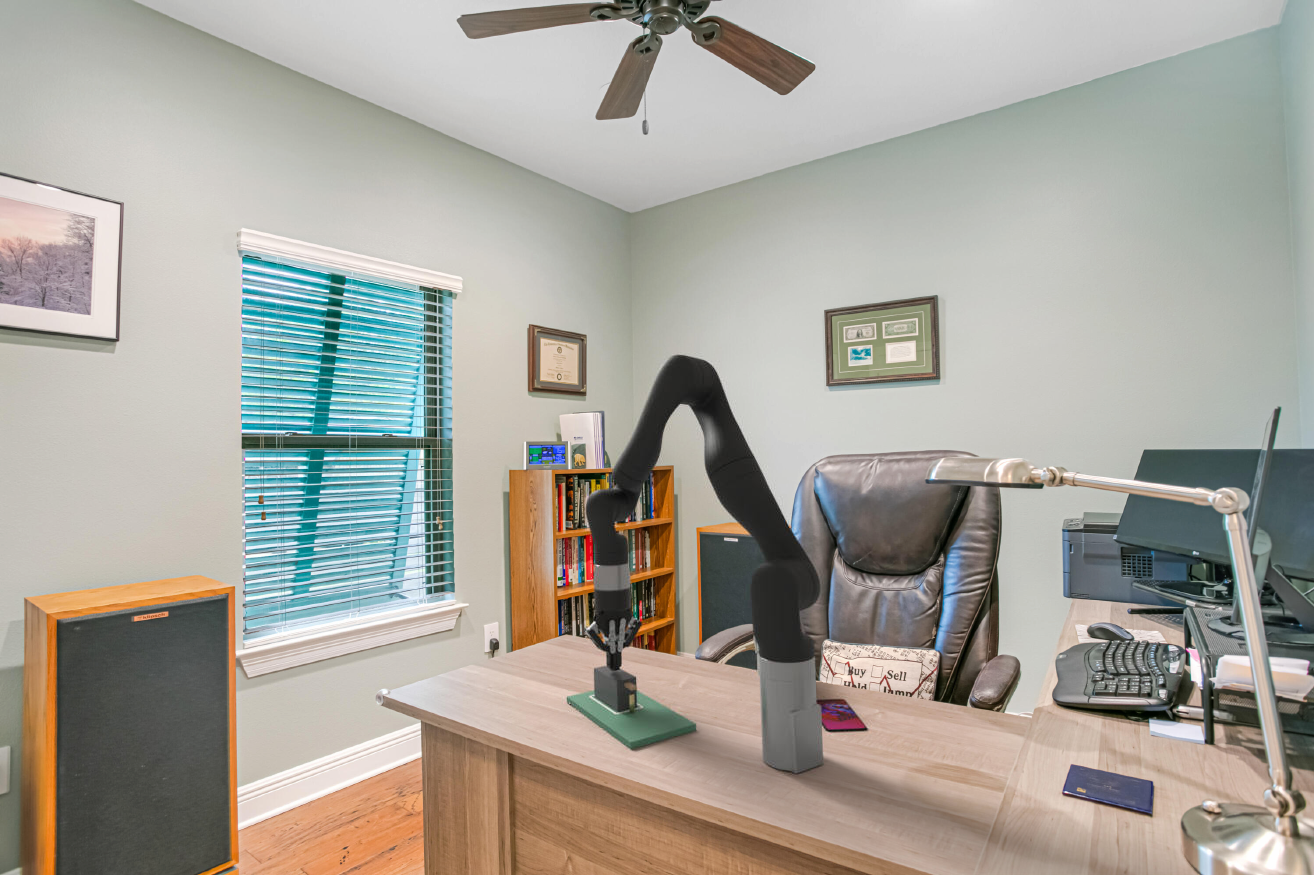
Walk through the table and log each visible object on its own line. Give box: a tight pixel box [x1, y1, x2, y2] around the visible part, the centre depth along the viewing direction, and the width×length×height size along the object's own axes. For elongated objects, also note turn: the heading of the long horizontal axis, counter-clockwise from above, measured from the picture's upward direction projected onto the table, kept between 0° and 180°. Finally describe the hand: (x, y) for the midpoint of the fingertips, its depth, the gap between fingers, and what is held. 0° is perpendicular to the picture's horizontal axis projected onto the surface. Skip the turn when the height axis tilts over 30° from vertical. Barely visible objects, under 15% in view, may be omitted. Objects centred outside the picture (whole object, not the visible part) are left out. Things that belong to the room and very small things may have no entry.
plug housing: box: [593, 665, 638, 712], centre depth 135 cm, size 13×4×6 cm, turn 31°
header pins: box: [629, 694, 635, 713], centre depth 137 cm, size 15×1×4 cm, turn 31°
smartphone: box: [816, 698, 868, 733], centre depth 129 cm, size 8×1×15 cm
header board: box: [566, 690, 697, 750], centre depth 132 cm, size 28×14×1 cm, turn 31°
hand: (614, 669), depth 137 cm, fingers closed
